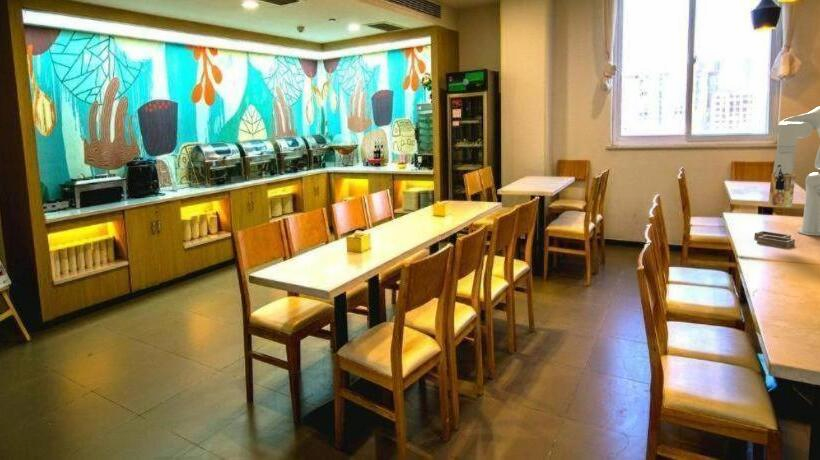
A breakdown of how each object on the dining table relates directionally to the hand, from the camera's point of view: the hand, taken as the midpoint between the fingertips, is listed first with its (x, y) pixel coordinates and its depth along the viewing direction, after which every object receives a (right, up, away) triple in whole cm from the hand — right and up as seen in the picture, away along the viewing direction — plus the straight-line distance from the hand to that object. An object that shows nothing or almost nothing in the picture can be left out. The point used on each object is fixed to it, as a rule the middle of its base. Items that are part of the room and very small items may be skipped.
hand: (781, 188), depth 261 cm
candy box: (0, -8, +2) cm, 9 cm away
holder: (+3, -26, +10) cm, 28 cm away
